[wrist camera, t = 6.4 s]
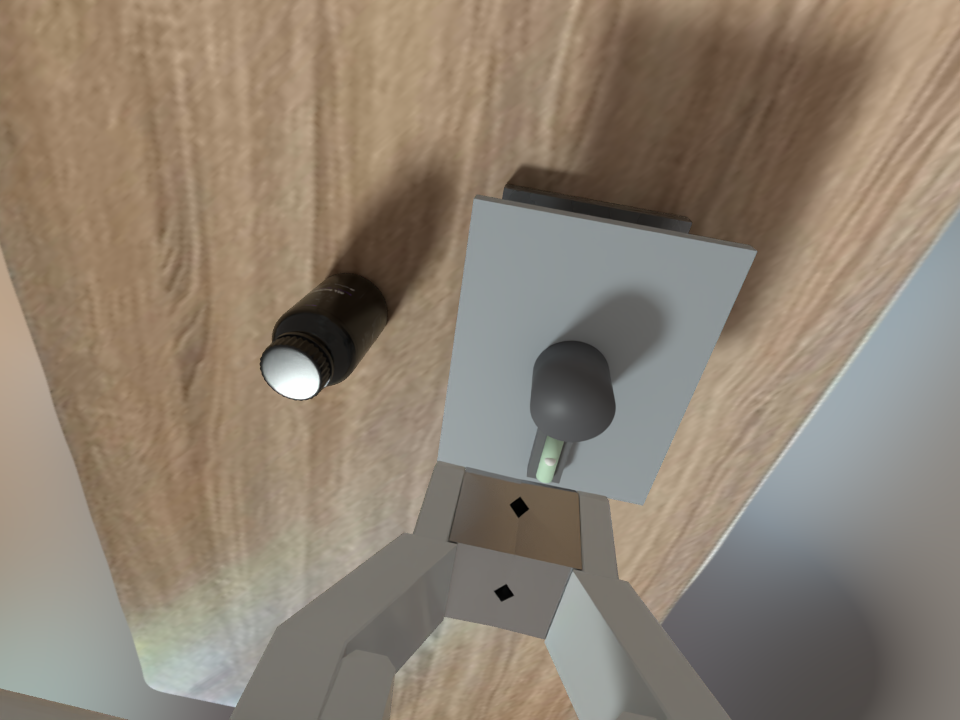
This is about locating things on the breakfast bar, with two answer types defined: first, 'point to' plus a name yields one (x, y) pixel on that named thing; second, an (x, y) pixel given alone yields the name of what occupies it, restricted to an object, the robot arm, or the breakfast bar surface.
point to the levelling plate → (590, 304)
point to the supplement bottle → (324, 336)
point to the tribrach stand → (597, 208)
